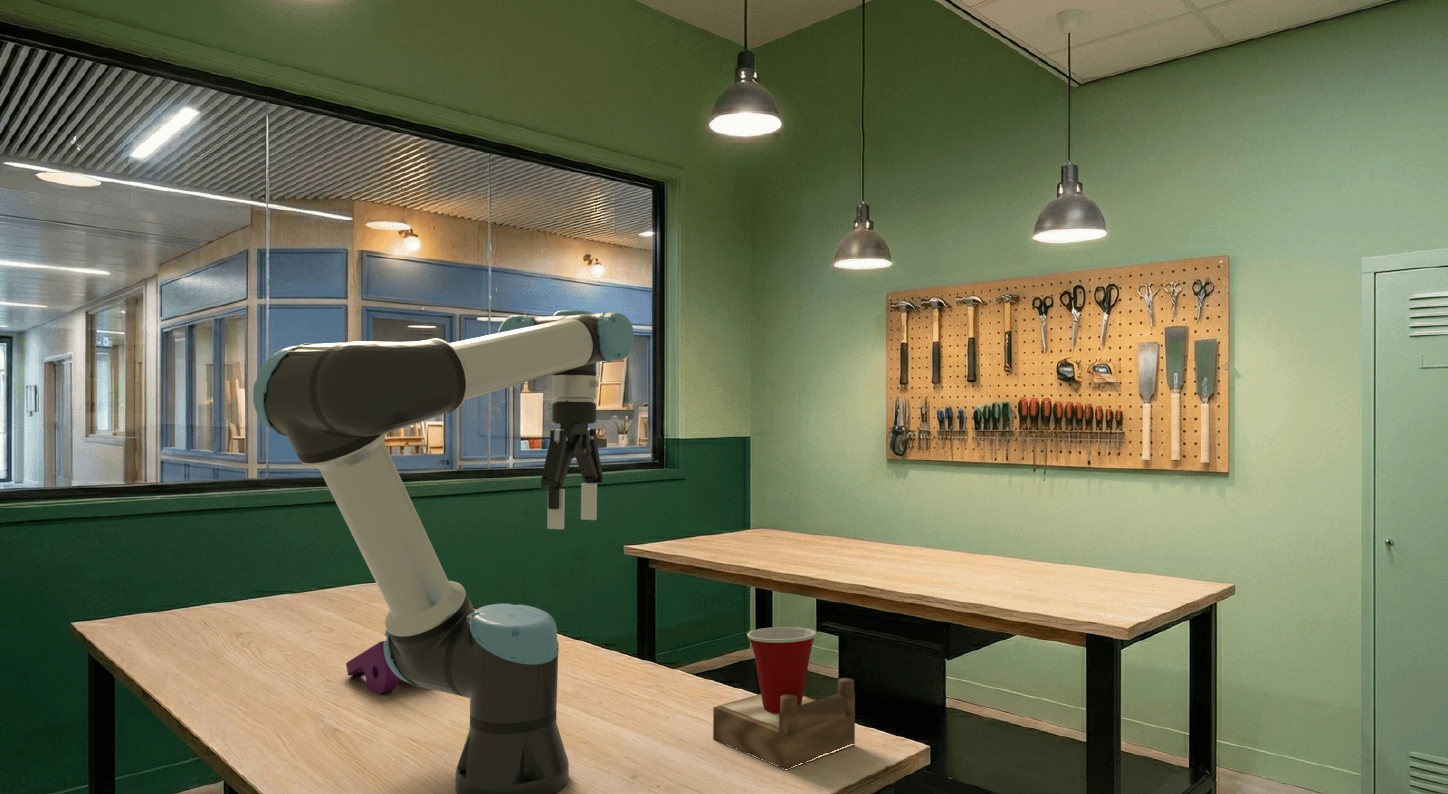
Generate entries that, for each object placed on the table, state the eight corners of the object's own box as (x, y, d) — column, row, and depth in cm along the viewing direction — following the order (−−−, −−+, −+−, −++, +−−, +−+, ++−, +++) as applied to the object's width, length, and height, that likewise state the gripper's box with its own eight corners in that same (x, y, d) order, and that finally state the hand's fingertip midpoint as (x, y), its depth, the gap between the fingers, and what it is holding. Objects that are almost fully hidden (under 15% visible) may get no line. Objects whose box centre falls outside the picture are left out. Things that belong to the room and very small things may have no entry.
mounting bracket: (345, 712, 167) (389, 688, 157) (337, 668, 170) (379, 641, 159) (393, 700, 174) (437, 677, 164) (384, 658, 177) (427, 632, 166)
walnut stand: (713, 739, 139) (713, 675, 139) (781, 718, 148) (781, 658, 149) (788, 771, 126) (788, 701, 126) (856, 746, 136) (857, 680, 136)
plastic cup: (784, 692, 146) (785, 619, 146) (830, 710, 137) (830, 632, 137) (732, 705, 139) (732, 628, 139) (776, 724, 130) (776, 642, 131)
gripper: (563, 399, 140) (561, 534, 140) (621, 402, 164) (619, 517, 164) (520, 399, 142) (518, 532, 141) (583, 401, 166) (582, 515, 166)
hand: (572, 524), depth 153 cm, fingers open, 13 cm apart
